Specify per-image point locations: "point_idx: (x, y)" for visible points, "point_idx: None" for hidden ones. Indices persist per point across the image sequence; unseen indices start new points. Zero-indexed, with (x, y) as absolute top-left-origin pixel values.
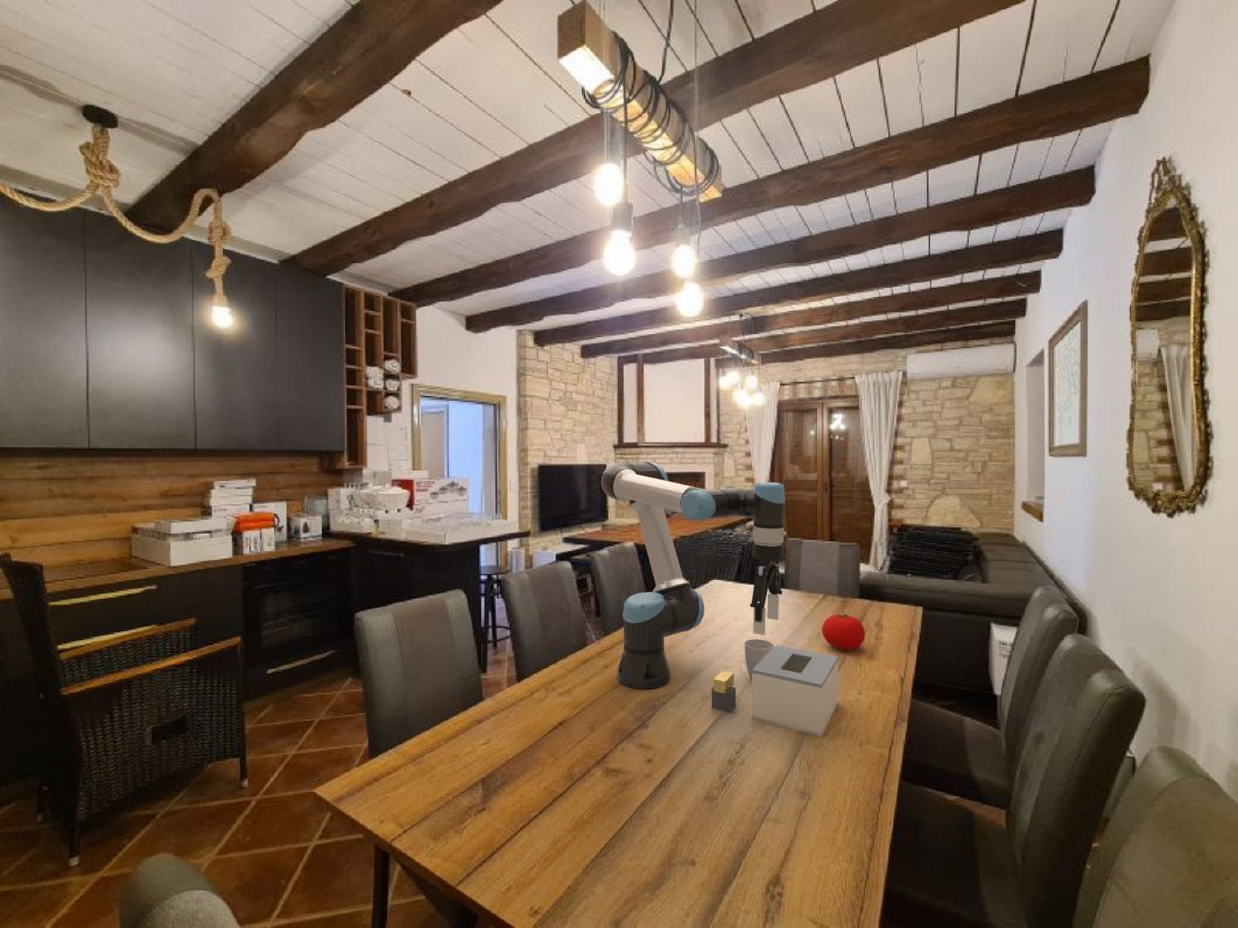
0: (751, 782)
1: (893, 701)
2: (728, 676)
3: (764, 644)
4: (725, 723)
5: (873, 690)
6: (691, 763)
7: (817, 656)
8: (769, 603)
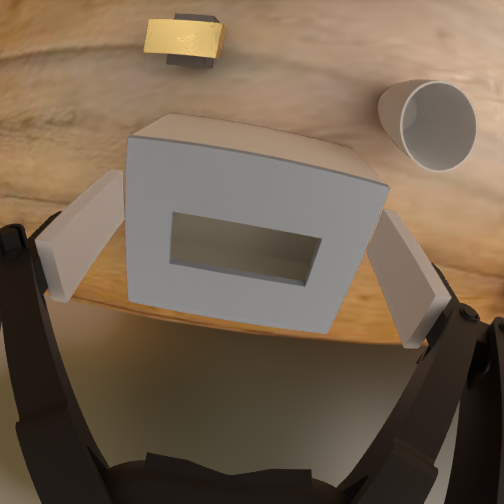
0: (5, 163)
1: (340, 335)
2: (183, 50)
3: (464, 143)
4: (128, 68)
5: (378, 314)
6: (3, 76)
7: (315, 296)
8: (408, 264)
